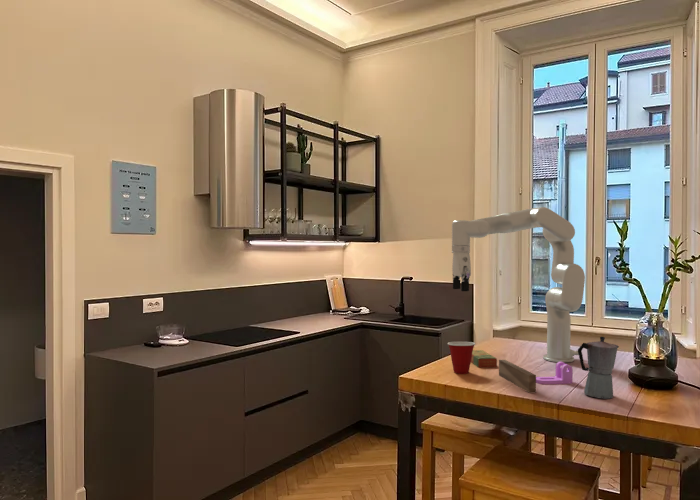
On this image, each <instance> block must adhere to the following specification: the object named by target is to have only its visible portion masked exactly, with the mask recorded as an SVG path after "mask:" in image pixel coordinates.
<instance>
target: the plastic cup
mask: <svg viewBox="0 0 700 500" xmlns="http://www.w3.org/2000/svg"><path fill="white" fill-rule="evenodd" d="M475 345H476V343H475V342H472V341H450V342H447V346H448V348H449V352H450V357H451V364H452V369H453V373H454V374H459V375H466V374H469V372H470V367H471V365H472V363H471V358H472V352H473V350H474V347H475Z"/></svg>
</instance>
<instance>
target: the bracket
mask: <svg viewBox="0 0 700 500" xmlns="http://www.w3.org/2000/svg"><path fill="white" fill-rule="evenodd" d="M536 384H540V385H563V384H566V385H568V384H569V385H570V384H573V366H572V365H569V364H567V363H566V362H556V364H555V375H554V376H536Z"/></svg>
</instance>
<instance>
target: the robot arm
mask: <svg viewBox="0 0 700 500" xmlns="http://www.w3.org/2000/svg"><path fill="white" fill-rule="evenodd" d="M535 228H542V235H543V237H544V238H545V240H546V241H548V242H549V244H550V245H551V249H552V252H553V253H552V263H551V271H550V277H551V280H552V281H553V282H554V283H556V284H559V285H562V287H560V286H555V287H552V288H550V289H548V291H547V292H546V293H545V299H544V300H545V307H546V316H547V318H546V320H547V321H546V324H547V325H546V327H547V328H546V331H547V332H546V354H543V356H542V359H544V360H545V361H549V362H554V363H558V362H564V363H572V362H574V361H575V358H574V356H579V354H578V350H574V349H571V322H572V321H571V314H570V313H573V312H576V311H578V310H579V309H580V307H581V306H582V303H583V299H584V289H585V283H586V282H585V281H586V275H585V271H584V269H583V268H582V266H581V265H579V264H577V263H574V260H575V248H574V244H573V242H572V239H573V238H574V237H575V234H576V230H575V227H574V225H573V224H572V223H571V222H570V221H568V220H567V219H566V218H564V217H563V216H561V215H560V214H558V213H557V212H555V211H554V210H552V209H550V208H548V207H545V206H540V207H533V208H532V207H531V208H525V209H520V210H516V211H511V212H506V213H502V214H501V213H500V214H498V215H493V216H489V217H483V218H477V219H473V220H465V219H463V220H453V221H452V223H451V253H452V268H451V269H452V270H451V271H452V290H460V291H461V292H469V291H470V277H471V275H472V267H471V266H472V265H471V254H470V253H471V238H472V239H476V238H477V239H481V238H485V237H487V236H488V235H493V234H494V235H495V234H508V233H510V234H511V233H514V232H519V231H526V230H531V229H535ZM460 278H461V279H460Z"/></svg>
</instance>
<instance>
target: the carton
mask: <svg viewBox="0 0 700 500" xmlns="http://www.w3.org/2000/svg"><path fill="white" fill-rule="evenodd" d="M497 362H498V358H497V357H495V356H493V355H492V354H491V353H488V352H486V351H485V350H482V349H473V352H472V358H471V365H473V366H475V367H476V368H479V369H480V368H497V365H498V363H497Z"/></svg>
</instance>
